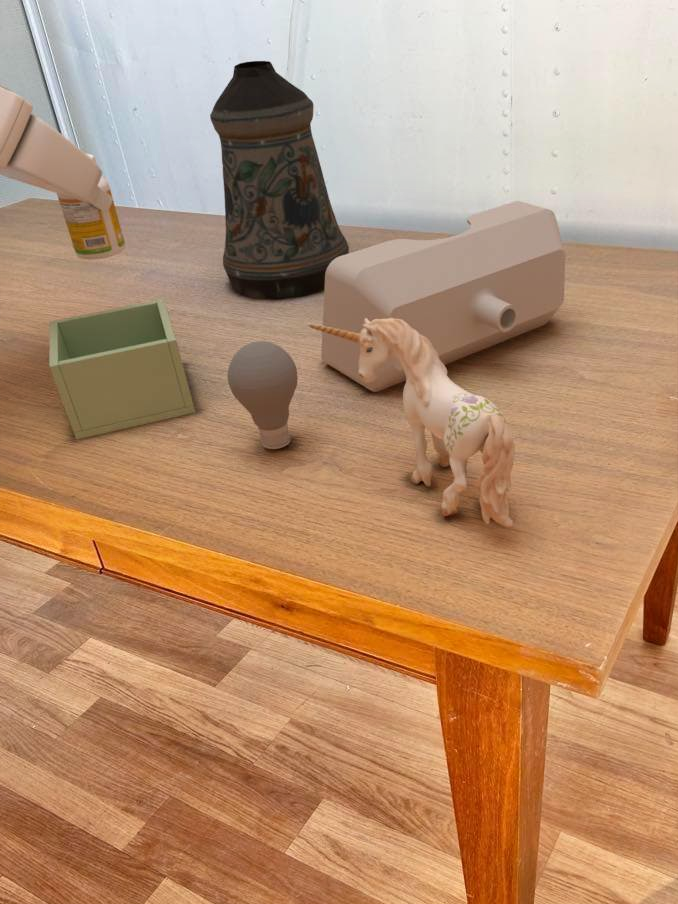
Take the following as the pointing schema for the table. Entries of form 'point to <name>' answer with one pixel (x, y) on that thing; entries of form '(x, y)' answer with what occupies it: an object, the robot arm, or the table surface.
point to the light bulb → (265, 388)
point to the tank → (449, 288)
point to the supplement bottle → (92, 226)
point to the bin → (118, 368)
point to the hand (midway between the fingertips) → (92, 200)
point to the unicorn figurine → (441, 415)
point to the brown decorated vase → (273, 188)
